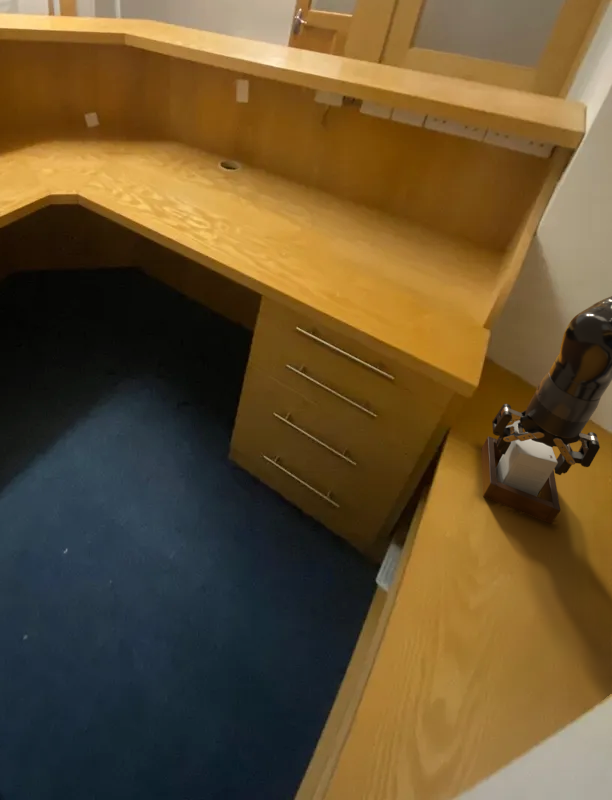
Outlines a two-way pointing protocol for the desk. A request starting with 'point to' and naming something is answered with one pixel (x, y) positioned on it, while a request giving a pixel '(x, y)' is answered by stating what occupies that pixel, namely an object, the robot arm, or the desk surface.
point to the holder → (513, 497)
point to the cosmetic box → (526, 466)
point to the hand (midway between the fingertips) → (528, 460)
